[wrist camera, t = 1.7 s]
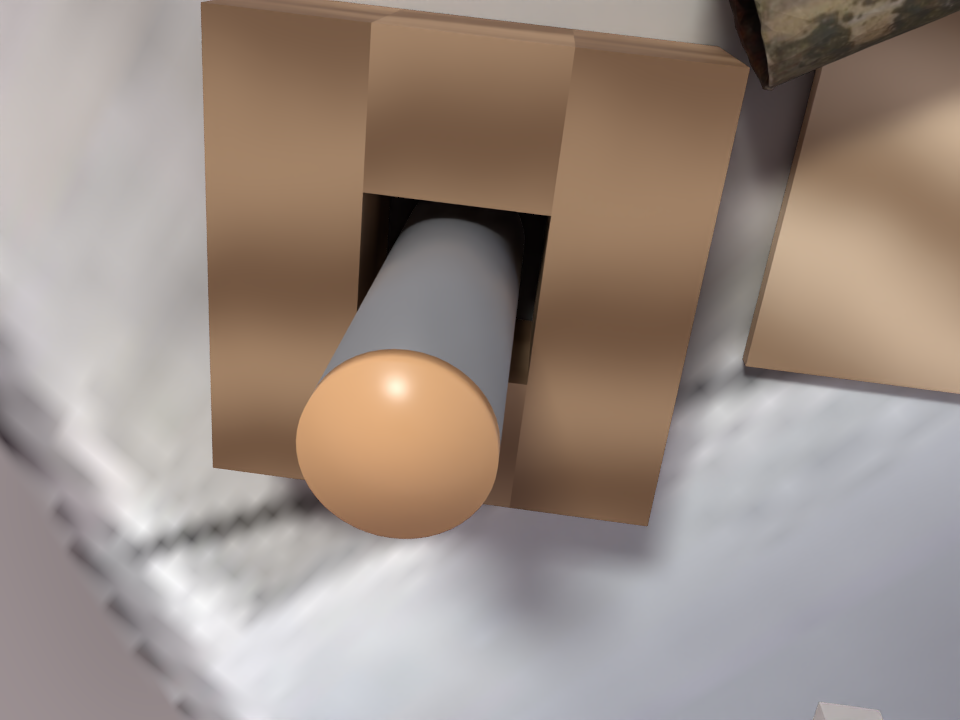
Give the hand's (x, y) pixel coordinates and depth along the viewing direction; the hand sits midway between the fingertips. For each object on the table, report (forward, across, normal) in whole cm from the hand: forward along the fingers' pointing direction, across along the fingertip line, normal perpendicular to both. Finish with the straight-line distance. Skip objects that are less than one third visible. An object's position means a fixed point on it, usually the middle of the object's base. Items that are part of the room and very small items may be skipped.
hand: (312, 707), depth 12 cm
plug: (+20, 0, 0) cm, 20 cm away
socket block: (+20, 0, 0) cm, 20 cm away
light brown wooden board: (+20, +16, +3) cm, 26 cm away
